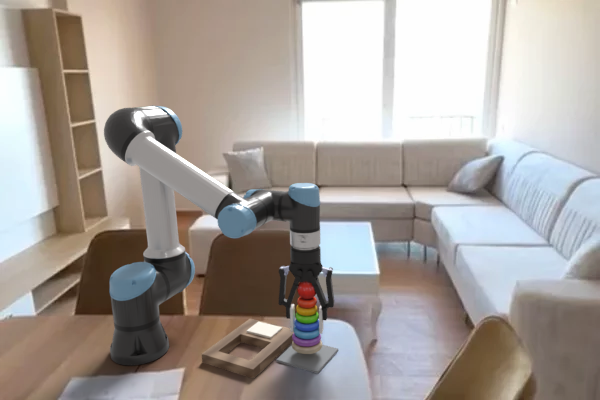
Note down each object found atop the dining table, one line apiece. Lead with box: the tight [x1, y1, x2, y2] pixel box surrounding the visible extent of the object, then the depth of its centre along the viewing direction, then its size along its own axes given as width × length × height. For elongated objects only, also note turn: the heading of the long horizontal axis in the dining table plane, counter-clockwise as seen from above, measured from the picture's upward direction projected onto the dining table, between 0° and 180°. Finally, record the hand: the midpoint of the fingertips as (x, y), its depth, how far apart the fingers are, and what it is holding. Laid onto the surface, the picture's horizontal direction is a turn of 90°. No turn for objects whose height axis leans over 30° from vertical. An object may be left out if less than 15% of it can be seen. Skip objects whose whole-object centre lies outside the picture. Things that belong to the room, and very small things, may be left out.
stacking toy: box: [291, 281, 323, 354], centre depth 127 cm, size 8×8×19 cm
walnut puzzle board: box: [201, 318, 294, 379], centre depth 133 cm, size 16×22×3 cm
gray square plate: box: [275, 344, 339, 374], centre depth 130 cm, size 12×12×1 cm
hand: (307, 330), depth 128 cm, fingers closed on stacking toy, 7 cm apart
